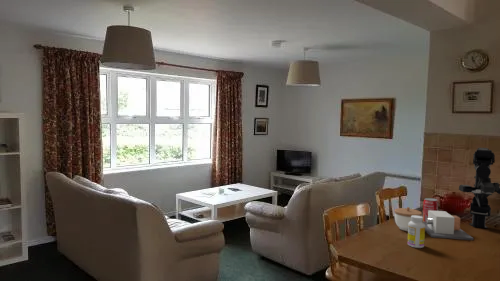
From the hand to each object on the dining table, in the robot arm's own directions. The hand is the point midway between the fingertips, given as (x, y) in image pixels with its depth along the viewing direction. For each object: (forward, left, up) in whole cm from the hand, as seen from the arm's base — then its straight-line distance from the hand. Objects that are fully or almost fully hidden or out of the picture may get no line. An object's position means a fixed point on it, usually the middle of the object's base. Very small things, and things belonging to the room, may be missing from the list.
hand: (480, 206), depth 178 cm
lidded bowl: (+2, -34, -13) cm, 37 cm away
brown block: (+3, -18, -11) cm, 21 cm away
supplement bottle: (+27, -37, -13) cm, 48 cm away
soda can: (-12, -19, -13) cm, 26 cm away
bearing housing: (+3, -17, -13) cm, 22 cm away
